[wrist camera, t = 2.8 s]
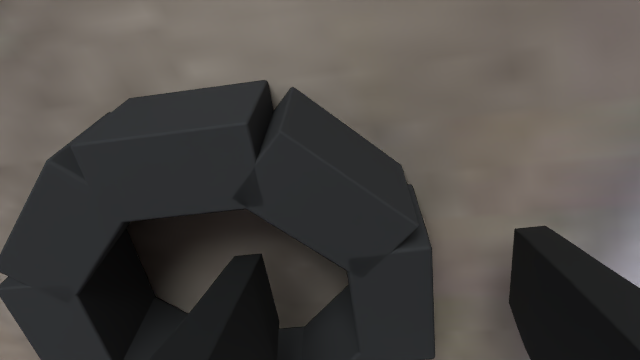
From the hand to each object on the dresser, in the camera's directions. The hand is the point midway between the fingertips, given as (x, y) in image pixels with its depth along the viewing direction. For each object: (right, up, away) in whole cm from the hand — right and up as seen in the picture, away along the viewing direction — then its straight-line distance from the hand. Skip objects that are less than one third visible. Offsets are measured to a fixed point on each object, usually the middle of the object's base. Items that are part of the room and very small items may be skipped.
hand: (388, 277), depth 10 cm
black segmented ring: (-3, 0, +2) cm, 4 cm away
